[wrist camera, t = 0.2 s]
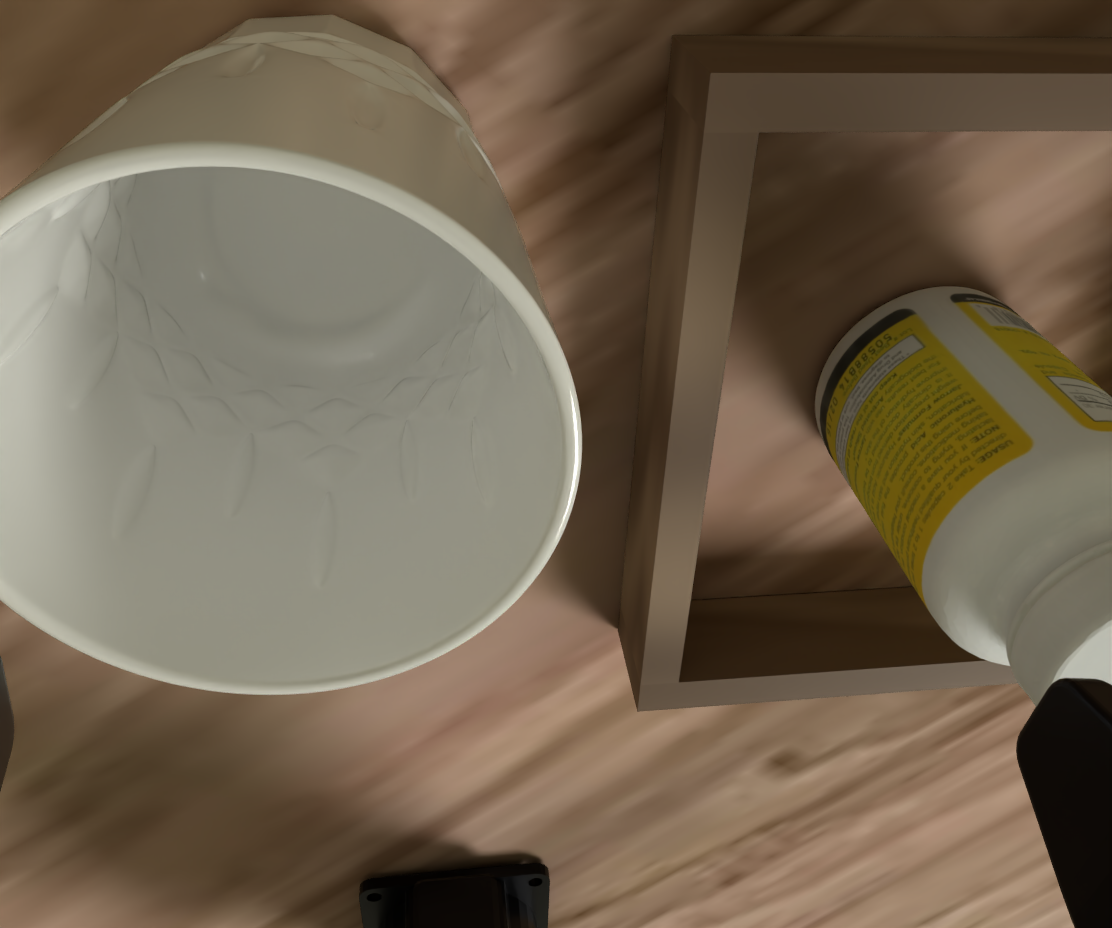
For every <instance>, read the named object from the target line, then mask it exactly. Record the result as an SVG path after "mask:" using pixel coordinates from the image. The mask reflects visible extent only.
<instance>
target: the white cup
mask: <svg viewBox="0 0 1112 928" xmlns="http://www.w3.org/2000/svg"><path fill="white" fill-rule="evenodd" d="M581 460H582V428H581V417H580V410H579V404H578V399H577V394H576V390H575V386H574V382H573V378H572V375H571V372H570V369H569V366H568V363H567V360H566V357H565V355H564V352H563V349H562V347H561V344H560V341H559V339H558V336H557V333H556V330H555V328H554V325H553V322H552V319H551V317H550V314H549V311H548V308H547V305H546V303H545V300H544V297H543V294H542V292H541V289H540V286H539V283H538V280H537V278H536V275H535V272H534V269H533V266H532V263H531V260H530V258H529V255H528V252H527V249H526V245H525V242H524V239H523V237H522V234H521V232H520V229H519V226H518V224H517V222H516V219H515V217H514V215H513V212H512V210H511V208H510V206H509V204H508V202H507V199H506V197H505V194H504V192H503V189H502V187H501V185H500V182H499V180H498V178H497V175H496V173H495V170H494V168H493V166H492V164H491V162H490V160H489V158H488V156H487V155H486V153H485V151H484V150H483V148H482V146H481V145H480V143H479V141H478V140H477V138H476V137H475V135H474V132H473V128H472V125H471V122H470V118H469V115H468V113H467V110H466V109H465V108H464V107H463V106H462V104H461V103H460V102H459V101H458V100H457V99H456V98H455V97H454V95H453V94H452V93H451V92H450V91H449V90H448V89H447V88H446V87H445V85H444V84H443V83H442V82H441V81H440V80H439V79H438V78H437V76H436V75H435V74H434V73H433V72H432V71H431V70H430V69H429V68H428V66H427V65H426V64H425V63H424V62H423V61H422V60H421V59H420V57H419V56H418V55H417V54H416V53H415V52H414V51H413V50H412V49H411V48H409V47H407V46H405V45H402V44H400V43H398V42H396V41H393V40H391V39H389V38H386V37H384V36H382V35H379V34H377V33H375V32H372V31H370V30H368V29H365V28H363V27H361V26H358V25H356V24H354V23H352V22H349V21H347V20H345V19H342V18H340V17H338V16H335V15H312V16H292V17H273V18H253V19H248V20H246V21H244V22H243V23H241V24H239V25H238V26H236V27H235V28H233V29H231V30H230V31H228V32H227V33H225V34H223V35H222V36H220V37H219V38H217V39H215V40H214V41H212V42H210V43H209V44H207V45H206V46H204V47H202V48H201V49H199V50H197V51H194V52H191V53H189V54H186V55H184V56H182V57H180V58H179V59H177V60H175V61H174V62H172V63H171V64H169V65H168V66H166V67H165V68H164V69H162V70H161V71H159V72H158V73H157V74H156V75H154V76H152V77H151V78H150V79H148V80H147V81H146V82H144V83H143V84H142V85H140V86H139V87H138V88H136V89H135V90H134V91H132V92H131V93H130V94H129V95H127V96H126V97H124V98H122V99H121V100H119V101H118V102H116V103H115V104H114V105H112V106H111V107H110V108H108V109H107V110H106V111H105V112H103V113H102V114H101V115H100V116H99V117H97V118H96V119H95V120H94V121H93V122H92V123H90V124H89V125H88V126H87V127H86V128H85V129H83V130H82V131H81V132H80V133H79V134H77V135H76V136H75V137H74V138H73V139H72V140H70V141H69V142H68V143H67V144H66V145H65V146H63V147H62V148H61V149H60V150H59V151H58V152H56V153H55V154H54V155H53V156H52V157H50V158H49V159H48V160H47V161H46V162H45V163H43V164H42V165H41V166H40V167H39V168H37V169H36V170H35V171H34V172H33V173H31V174H30V175H29V176H28V177H27V178H25V179H24V180H23V181H22V182H21V183H19V184H18V185H17V186H16V187H15V188H13V189H12V190H11V191H10V192H9V193H7V194H6V195H5V196H4V197H2V198H1V199H0V600H1V601H2V602H3V603H4V604H5V605H7V606H8V607H9V608H11V609H12V610H13V611H14V612H16V613H17V614H18V615H20V616H21V617H23V618H24V619H25V620H27V621H28V622H30V623H31V624H33V625H34V626H36V627H37V628H39V629H41V630H42V631H44V632H45V633H47V634H49V635H50V636H52V637H54V638H55V639H57V640H59V641H61V642H63V643H64V644H66V645H68V646H70V647H72V648H74V649H76V650H78V651H80V652H82V653H84V654H86V655H89V656H91V657H93V658H95V659H97V660H100V661H102V662H105V663H107V664H110V665H112V666H115V667H117V668H120V669H123V670H126V671H129V672H132V673H135V674H138V675H141V676H144V677H148V678H151V679H155V680H159V681H162V682H166V683H171V684H175V685H180V686H185V687H190V688H195V689H201V690H208V691H215V692H224V693H234V694H250V695H288V694H304V693H314V692H323V691H330V690H337V689H342V688H348V687H353V686H357V685H362V684H366V683H370V682H374V681H377V680H381V679H384V678H387V677H391V676H394V675H397V674H399V673H402V672H405V671H408V670H410V669H413V668H415V667H418V666H420V665H422V664H425V663H427V662H429V661H431V660H433V659H435V658H438V657H439V656H441V655H443V654H445V653H447V652H449V651H451V650H453V649H454V648H456V647H458V646H459V645H461V644H463V643H464V642H466V641H468V640H469V639H471V638H472V637H474V636H475V635H476V634H478V633H479V632H481V631H482V630H483V629H485V628H486V627H487V626H489V625H490V624H491V623H492V622H494V621H495V620H496V619H497V618H498V617H500V616H501V615H502V614H503V613H504V612H505V611H506V610H507V609H509V608H510V607H511V606H512V605H513V604H514V603H515V602H516V601H517V600H518V599H519V597H520V596H521V595H522V594H523V593H524V592H525V591H526V590H527V589H528V587H529V586H530V585H531V584H532V583H533V581H534V580H535V579H536V577H537V576H538V575H539V573H540V572H541V571H542V569H543V568H544V566H545V565H546V563H547V562H548V560H549V558H550V557H551V555H552V553H553V552H554V550H555V548H556V546H557V544H558V542H559V540H560V538H561V536H562V534H563V532H564V529H565V527H566V525H567V522H568V519H569V517H570V514H571V511H572V508H573V504H574V501H575V497H576V493H577V488H578V483H579V477H580V470H581Z"/></svg>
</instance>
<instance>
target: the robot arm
mask: <svg viewBox="0 0 1112 928" xmlns="http://www.w3.org/2000/svg"><path fill="white" fill-rule="evenodd" d="M13 739H14V717H13V712H12V707H11V702H10V697H9V692H8V688H7V683H6V678H5V673H4V668H3V663H2V659H1V657H0V791H1V787H2V784H3V780H4V776H5V773H6V769H7V765H8V762H9V758H10V754H11V750H12V745H13ZM1016 753H1017V760H1018V764H1019V767H1020V770H1021V773H1022V776H1023V779H1024V782H1025V785H1026V788H1027V791H1028V794H1029V797H1030V800H1031V803H1032V806H1033V809H1034V812H1035V815H1036V818H1037V821H1038V824H1039V827H1040V830H1041V833H1042V836H1043V839H1044V842H1045V844H1046V847H1047V850H1048V853H1049V856H1050V859H1051V862H1052V865H1053V868H1054V871H1055V874H1056V877H1057V880H1058V883H1059V886H1060V889H1061V892H1062V895H1063V898H1064V900H1065V903H1066V906H1067V909H1068V911H1069V914H1070V917H1071V920H1072V922H1073V924H1074V927H1075V928H1112V685H1111V684H1109V683H1107V682H1105V681H1103V680H1099V679H1089V678H1061V679H1058V680H1057V681H1055V682H1053V683H1052V684H1051V685H1050V686H1049V688H1048V689H1047V691H1046V692H1045V694H1044V695H1043V697H1042V699H1041V700H1040V702H1039V703H1038V705H1037V706H1036V708H1035V710H1034V711H1033V713H1032V714H1031V716H1030V718H1029V719H1028V721H1027V722H1026V724H1025V726H1024V727H1023V729H1022V730H1021V732H1020V734H1019V736H1018V740H1017V747H1016ZM549 886H550V879H549V871H548V867H546V866H545V865H543V864H540V863H533V864H522V865H511V866H500V867H489V868H478V869H468V870H457V871H446V872H435V873H424V874H413V875H402V876H391V877H380V878H372V879H367V880H365V881H363V882H362V883H361V884H360V893H359V901H360V907H361V914H362V921H363V927H364V928H548V908H549Z"/></svg>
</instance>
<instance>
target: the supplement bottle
mask: <svg viewBox="0 0 1112 928" xmlns="http://www.w3.org/2000/svg"><path fill="white" fill-rule="evenodd" d="M815 415H816V420H817V425H818V429H819V432H820V435H821V437H822V439H823V441H824V443H825V445H826V448H827V450H828V452H829V454H830V456H831V457H832V459H833V460H834V462H835V463H836V465H837V467H838V468H839V470H840V471H841V473H842V475H843V476H844V478H845V479H846V481H847V482H848V484H849V486H850V487H851V489H852V490H853V492H854V493H855V495H856V497H857V498H858V500H859V501H860V503H861V504H862V506H863V507H864V509H865V511H866V512H867V514H868V516H869V517H870V519H871V520H872V522H873V523H874V525H875V527H876V528H877V530H878V531H879V533H880V535H881V536H882V538H883V539H884V541H885V543H886V544H887V546H888V547H889V549H890V550H891V552H892V554H893V555H894V557H895V558H896V560H897V561H898V563H899V565H900V566H901V568H902V569H903V571H904V573H905V574H906V576H907V577H908V579H909V580H910V582H911V584H912V585H913V587H914V588H915V590H916V592H917V593H918V595H919V596H920V598H921V600H922V601H923V603H924V604H925V606H926V608H927V609H928V611H929V612H930V614H931V615H932V617H933V618H934V619H935V621H936V622H937V623H938V625H939V626H940V627H941V629H942V630H943V631H944V632H945V633H946V634H947V635H948V636H949V637H950V638H951V639H952V640H953V641H954V642H955V643H956V644H957V645H958V646H960V647H961V648H963V649H964V650H966V651H968V652H969V653H971V654H973V655H975V656H977V657H979V658H981V659H984V660H987V661H990V662H994V663H998V664H1002V665H1007V666H1011V668H1012V671H1013V674H1014V676H1015V678H1016V680H1017V682H1018V684H1019V685H1020V686H1021V688H1022V689H1023V690H1024V691H1025V692H1026V693H1027V695H1028V696H1029V697H1030V699H1031V700H1032V702H1033V703H1034V704H1035V706H1037V705H1038V703H1039V702H1040V700H1041V699H1042V697H1043V695H1044V694H1045V692H1046V691H1047V689H1048V688H1049V686H1050V685H1051V684H1052V683H1053V682H1055V681H1057V680H1058V679H1061V678H1089V679H1099V680H1103V681H1105V682H1107V683H1109V684H1111V685H1112V397H1111V396H1110V395H1108V394H1107V393H1106V392H1105V391H1104V390H1103V389H1102V388H1100V387H1099V386H1098V385H1097V384H1096V383H1095V382H1094V381H1093V380H1091V379H1090V378H1089V377H1088V376H1087V375H1085V374H1084V373H1083V372H1082V371H1081V370H1080V369H1079V368H1078V367H1077V366H1076V365H1074V364H1073V363H1072V362H1071V361H1070V360H1069V359H1068V358H1067V357H1065V356H1064V355H1063V354H1062V353H1061V352H1060V351H1059V350H1058V349H1057V348H1055V347H1054V346H1053V345H1052V344H1051V343H1050V342H1049V341H1048V340H1047V339H1045V338H1044V337H1043V336H1042V335H1041V334H1040V333H1038V332H1037V331H1036V330H1035V329H1034V328H1033V327H1032V326H1031V325H1030V324H1029V323H1028V322H1026V321H1025V320H1024V319H1022V318H1021V317H1020V316H1019V315H1018V314H1017V313H1016V312H1014V311H1013V310H1012V309H1011V308H1010V307H1008V306H1007V305H1005V304H1004V303H1003V302H1001V301H1000V300H998V299H996V298H994V297H993V296H991V295H988V294H986V293H984V292H981V291H979V290H975V289H971V288H966V287H956V286H941V287H932V288H927V289H922V290H918V291H914V292H911V293H908V294H905V295H903V296H900V297H898V298H896V299H893V300H891V301H889V302H888V303H886V304H884V305H882V306H880V307H879V308H877V309H876V310H874V311H873V312H871V313H870V314H868V315H867V316H866V317H864V318H863V319H862V320H860V321H859V322H858V323H857V324H856V325H855V326H854V327H853V328H851V329H850V330H849V331H848V332H847V333H846V335H845V336H844V337H843V338H842V339H841V340H840V341H839V343H838V344H837V345H836V347H835V348H834V349H833V351H832V353H831V354H830V356H829V358H828V360H827V362H826V364H825V366H824V368H823V370H822V373H821V375H820V379H819V382H818V386H817V390H816V397H815Z"/></svg>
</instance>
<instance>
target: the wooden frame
mask: <svg viewBox="0 0 1112 928" xmlns="http://www.w3.org/2000/svg"><path fill="white" fill-rule="evenodd" d="M954 131H1112V38H1034V37H882V36H731V35H672V44H671V55H670V66H669V77H668V88H667V99H666V110H665V121H664V132H663V143H662V154H661V165H660V176H659V187H658V198H657V209H656V220H655V231H654V241H653V252H652V263H651V274H650V285H649V296H648V307H647V318H646V329H645V340H644V351H643V362H642V373H641V384H640V395H639V406H638V417H637V428H636V439H635V450H634V460H633V471H632V482H631V493H630V504H629V515H628V526H627V537H626V548H625V559H624V570H623V581H622V592H621V603H620V614H619V625H618V633H619V637H620V641H621V645H622V649H623V654H624V658H625V662H626V666H627V670H628V674H629V678H630V683H631V687H632V691H633V695H634V699H635V703H636V707H637V712H639V711H652V710H666V709H679V708H692V707H706V706H719V705H733V704H746V703H759V702H773V701H786V700H800V699H813V698H827V697H840V696H853V695H867V694H880V693H894V692H907V691H920V690H934V689H947V688H961V687H974V686H987V685H1001V684H1014V683H1018V682H1017V680H1016V678H1015V676H1014V674H1013V671H1012V668H1011V666H1007V665H1002V664H998V663H994V662H990V661H987V660H984V659H981V658H979V657H977V656H975V655H973V654H971V653H969V652H968V651H966V650H964V649H963V648H961V647H960V646H958V645H957V644H956V643H955V642H954V641H953V640H952V639H951V638H950V637H949V636H948V635H947V634H946V633H945V632H944V631H943V630H942V629H941V627H940V626H939V625H938V623H937V622H936V621H935V619H934V618H933V617H932V615H931V614H930V612H929V611H928V609H927V608H926V606H925V604H924V603H923V601H922V600H921V598H920V596H919V595H918V593H917V592H916V590H915V588H914V587H905V588H888V589H872V590H856V591H840V592H824V593H807V594H791V595H775V596H759V597H743V598H726V599H710V600H694V601H691V594H692V588H693V581H694V574H695V567H696V560H697V553H698V547H699V540H700V533H701V526H702V519H703V512H704V506H705V499H706V492H707V485H708V478H709V471H710V465H711V458H712V451H713V444H714V437H715V431H716V424H717V417H718V410H719V403H720V396H721V390H722V383H723V376H724V369H725V362H726V355H727V349H728V342H729V335H730V328H731V321H732V314H733V308H734V301H735V294H736V287H737V280H738V274H739V267H740V260H741V253H742V246H743V239H744V233H745V226H746V219H747V212H748V205H749V198H750V192H751V185H752V178H753V171H754V164H755V157H756V151H757V144H758V137H759V133H761V132H954Z"/></svg>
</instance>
